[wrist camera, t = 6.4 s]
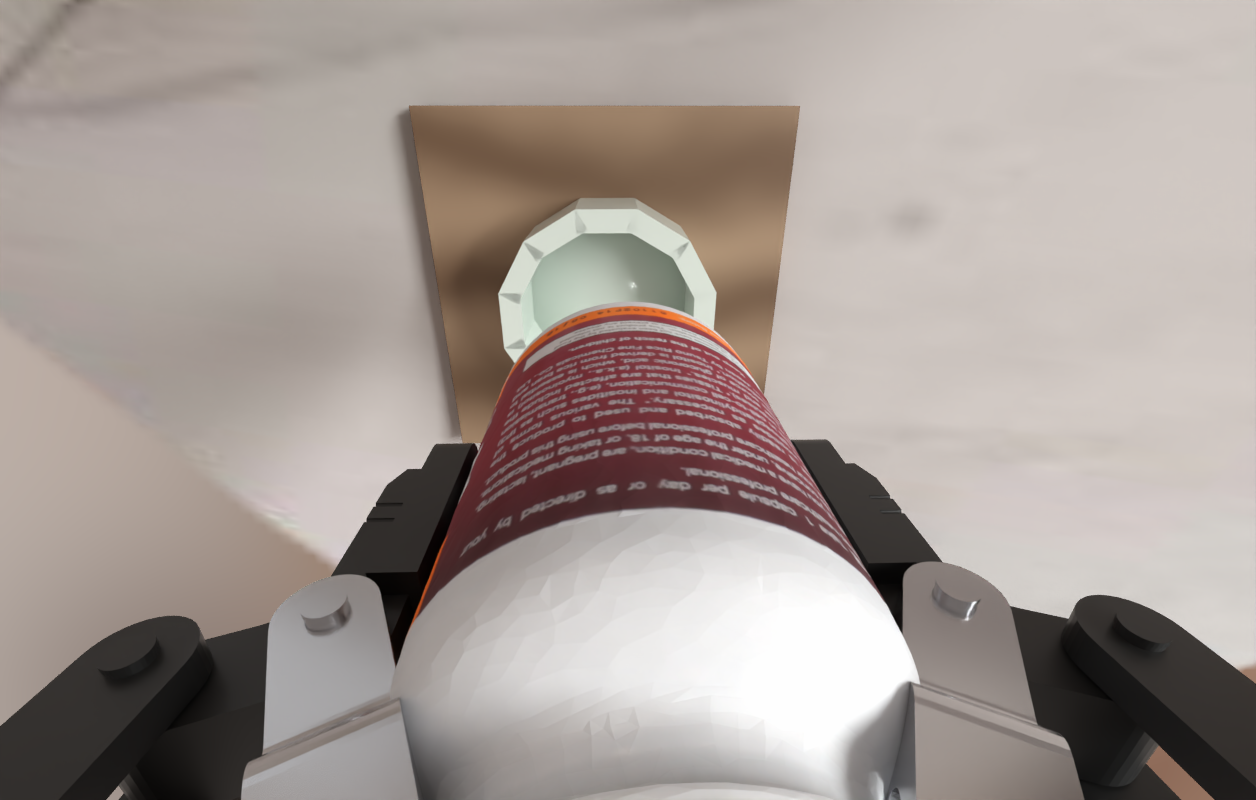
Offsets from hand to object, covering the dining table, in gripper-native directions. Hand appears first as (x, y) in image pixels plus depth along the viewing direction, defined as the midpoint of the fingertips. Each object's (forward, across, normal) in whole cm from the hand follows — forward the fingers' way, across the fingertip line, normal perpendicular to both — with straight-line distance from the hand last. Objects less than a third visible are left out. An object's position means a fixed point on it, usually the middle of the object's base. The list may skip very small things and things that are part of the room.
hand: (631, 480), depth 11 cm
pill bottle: (+3, 0, 0) cm, 3 cm away
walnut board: (+21, 0, +2) cm, 21 cm away
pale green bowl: (+19, 0, +2) cm, 19 cm away
